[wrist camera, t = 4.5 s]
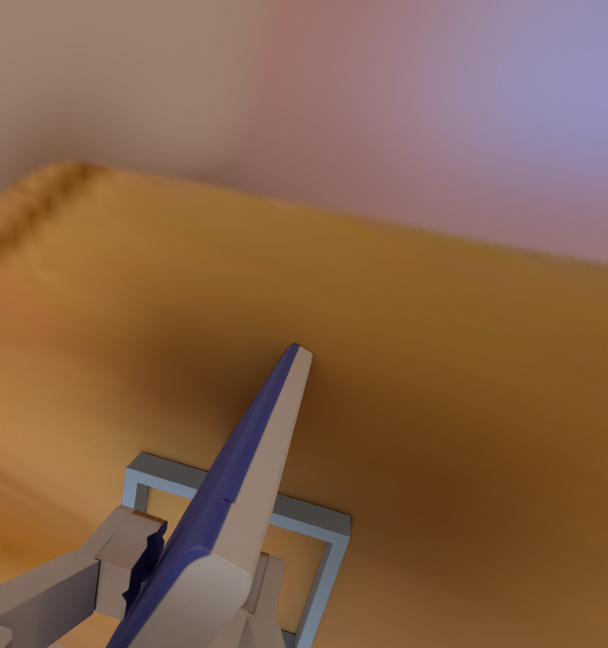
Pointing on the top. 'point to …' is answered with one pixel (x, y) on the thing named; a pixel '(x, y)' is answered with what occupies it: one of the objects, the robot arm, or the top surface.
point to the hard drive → (221, 525)
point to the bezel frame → (284, 515)
